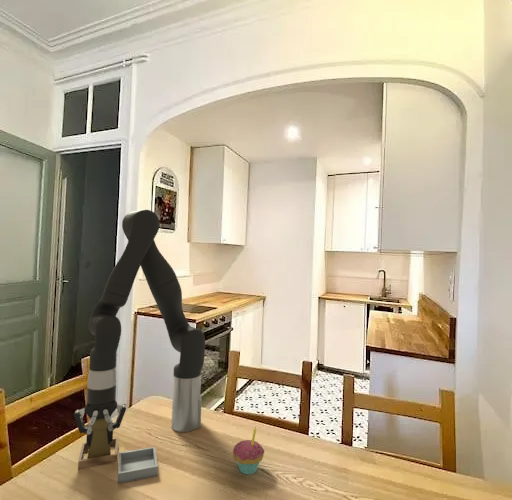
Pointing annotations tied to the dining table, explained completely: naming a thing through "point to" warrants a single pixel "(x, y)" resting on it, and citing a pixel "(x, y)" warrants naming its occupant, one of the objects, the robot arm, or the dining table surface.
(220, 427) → the dining table surface
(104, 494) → the dining table surface
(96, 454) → the olive pawn
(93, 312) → the robot arm
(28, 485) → the dining table surface
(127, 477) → the grey tray
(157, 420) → the dining table surface
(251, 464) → the cupcake
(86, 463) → the walnut frame
